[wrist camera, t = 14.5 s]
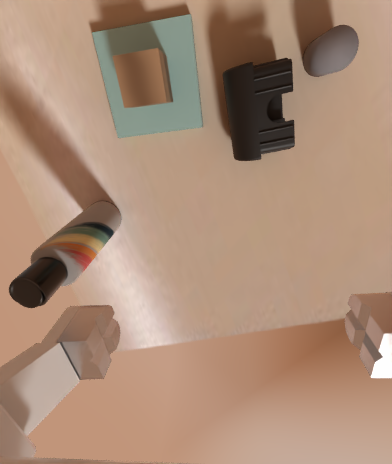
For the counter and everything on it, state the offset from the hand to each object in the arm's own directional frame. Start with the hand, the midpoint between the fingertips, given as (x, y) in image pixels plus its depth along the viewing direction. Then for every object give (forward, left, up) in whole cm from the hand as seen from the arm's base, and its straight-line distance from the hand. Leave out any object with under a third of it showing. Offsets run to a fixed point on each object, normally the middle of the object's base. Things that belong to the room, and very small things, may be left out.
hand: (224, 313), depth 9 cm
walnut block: (+8, -10, -30) cm, 32 cm away
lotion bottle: (+20, +8, -31) cm, 38 cm away
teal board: (+8, -10, -31) cm, 34 cm away
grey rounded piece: (-13, -10, -31) cm, 35 cm away
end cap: (-5, -5, -31) cm, 32 cm away
